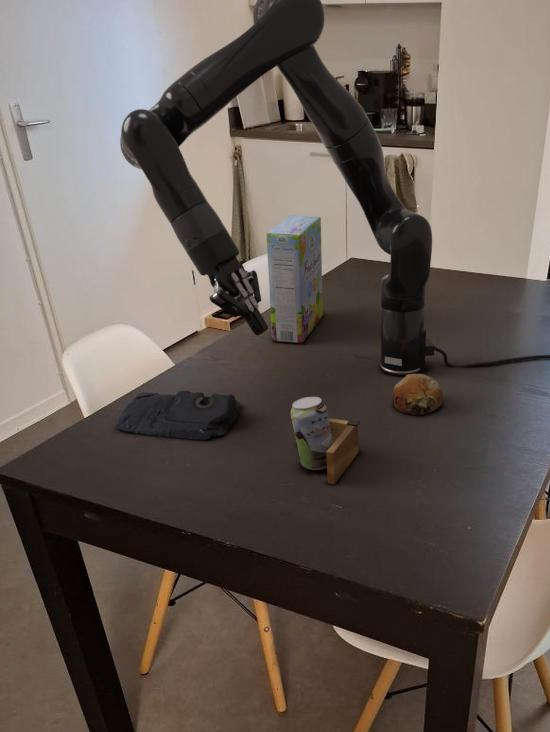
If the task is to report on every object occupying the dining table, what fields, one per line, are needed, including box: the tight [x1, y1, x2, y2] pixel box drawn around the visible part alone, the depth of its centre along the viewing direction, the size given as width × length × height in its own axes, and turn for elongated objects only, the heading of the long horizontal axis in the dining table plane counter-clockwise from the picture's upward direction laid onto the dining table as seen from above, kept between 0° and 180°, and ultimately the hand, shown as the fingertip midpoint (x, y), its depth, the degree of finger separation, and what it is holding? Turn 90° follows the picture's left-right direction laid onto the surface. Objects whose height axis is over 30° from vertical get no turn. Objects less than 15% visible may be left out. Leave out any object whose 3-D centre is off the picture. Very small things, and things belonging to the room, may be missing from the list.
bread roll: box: [392, 373, 443, 416], centre depth 137 cm, size 10×10×8 cm
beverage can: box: [290, 396, 333, 471], centre depth 116 cm, size 6×7×12 cm
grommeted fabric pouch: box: [114, 390, 241, 441], centre depth 133 cm, size 15×22×5 cm
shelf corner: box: [326, 417, 361, 485], centre depth 118 cm, size 12×12×6 cm
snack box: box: [265, 214, 324, 344], centre depth 170 cm, size 22×9×26 cm, turn 170°
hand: (262, 332), depth 118 cm, fingers closed
